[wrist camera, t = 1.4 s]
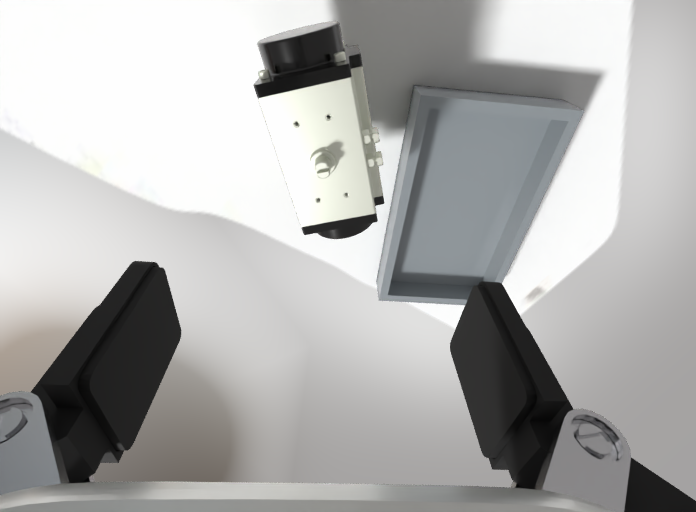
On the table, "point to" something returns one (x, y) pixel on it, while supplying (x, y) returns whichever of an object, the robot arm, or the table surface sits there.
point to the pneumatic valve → (321, 128)
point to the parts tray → (467, 189)
